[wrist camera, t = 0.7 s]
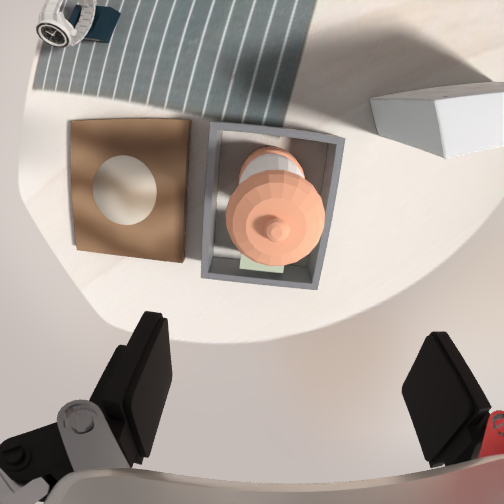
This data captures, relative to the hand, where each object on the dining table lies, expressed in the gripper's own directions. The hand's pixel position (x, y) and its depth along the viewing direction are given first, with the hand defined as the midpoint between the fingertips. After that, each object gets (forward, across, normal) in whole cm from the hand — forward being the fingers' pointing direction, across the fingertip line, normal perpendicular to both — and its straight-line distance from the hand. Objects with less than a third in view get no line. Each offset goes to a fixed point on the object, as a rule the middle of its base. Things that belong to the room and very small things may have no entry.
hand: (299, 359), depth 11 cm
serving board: (+30, +19, +2) cm, 35 cm away
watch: (+30, +24, -20) cm, 44 cm away
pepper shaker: (+30, +1, 0) cm, 30 cm away
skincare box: (+31, -21, -13) cm, 39 cm away
